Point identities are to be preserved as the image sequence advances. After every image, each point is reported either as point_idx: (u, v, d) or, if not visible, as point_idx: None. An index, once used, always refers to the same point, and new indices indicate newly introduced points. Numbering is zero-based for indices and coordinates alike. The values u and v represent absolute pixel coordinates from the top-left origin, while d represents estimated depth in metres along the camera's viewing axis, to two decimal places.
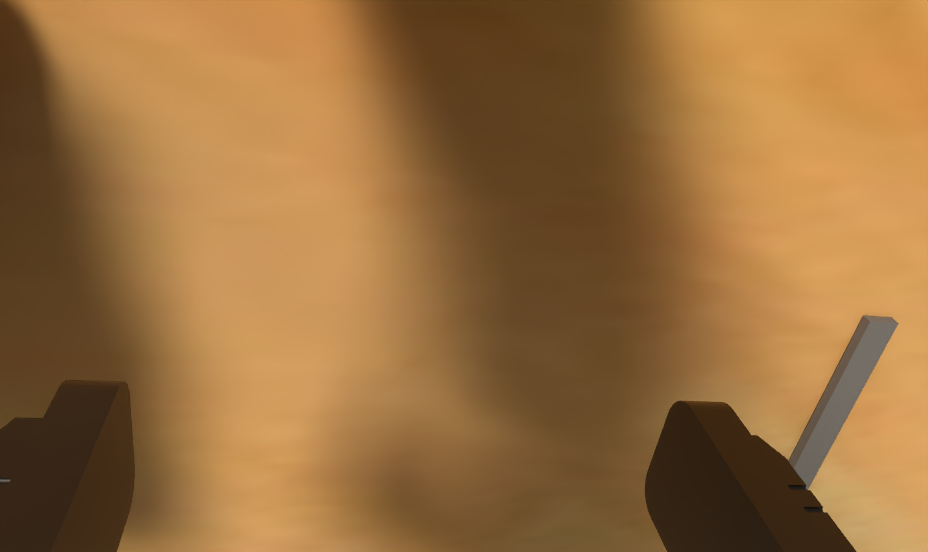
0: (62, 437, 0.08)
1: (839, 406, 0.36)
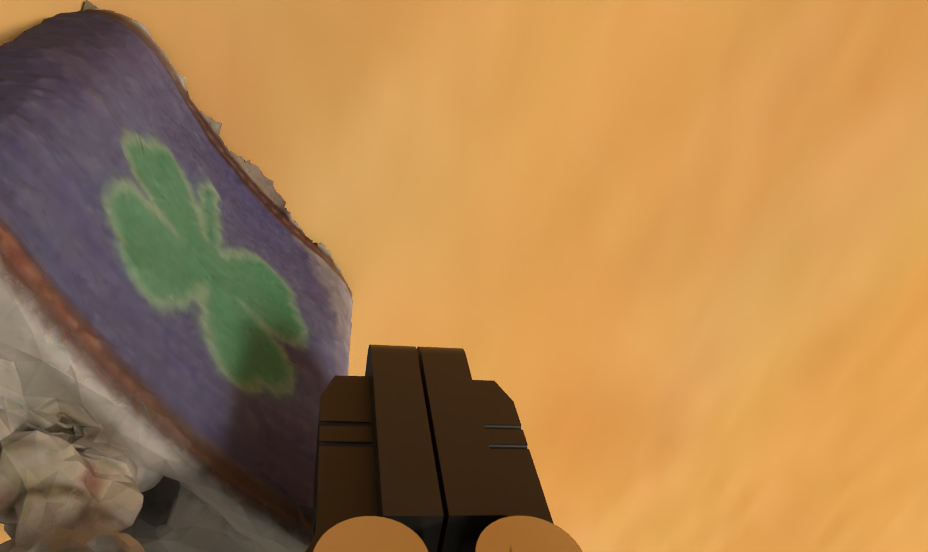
0: (396, 388, 0.10)
1: None
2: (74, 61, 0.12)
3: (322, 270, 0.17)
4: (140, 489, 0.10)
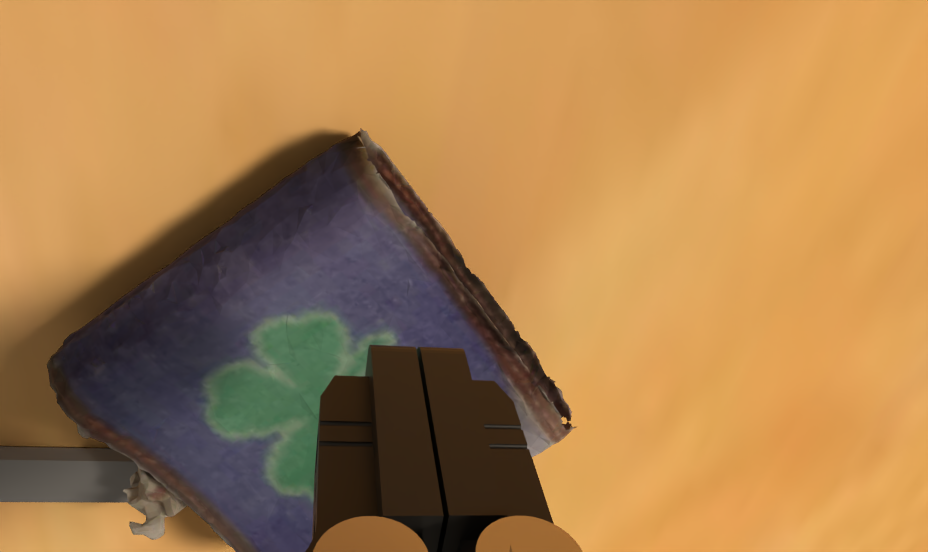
0: (396, 389, 0.10)
1: None
2: (239, 267, 0.16)
3: None
4: None
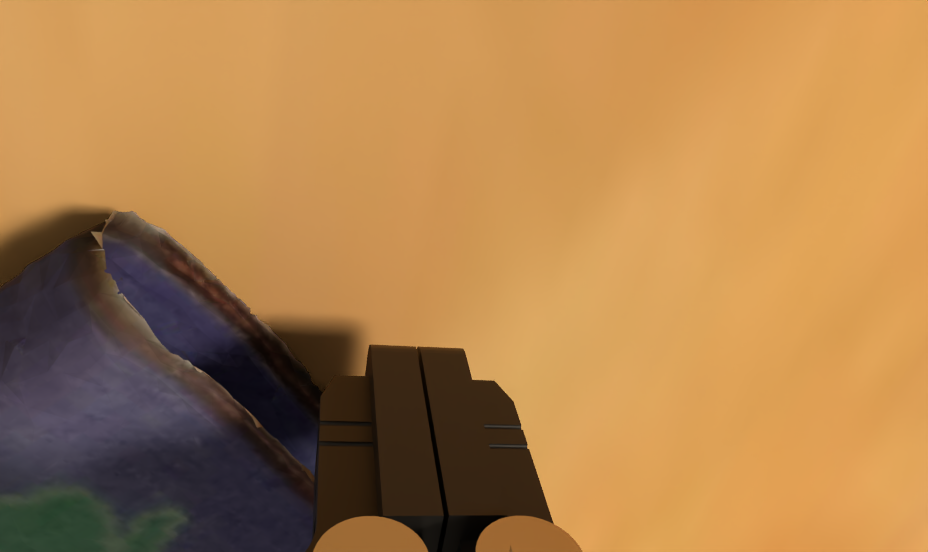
0: (396, 388, 0.10)
1: None
2: None
3: None
4: None
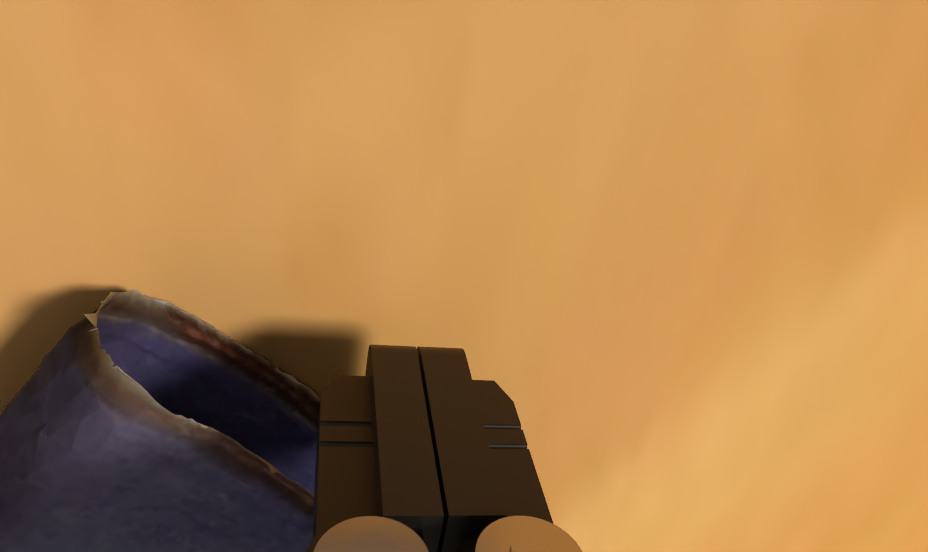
0: (396, 388, 0.10)
1: None
2: None
3: None
4: None
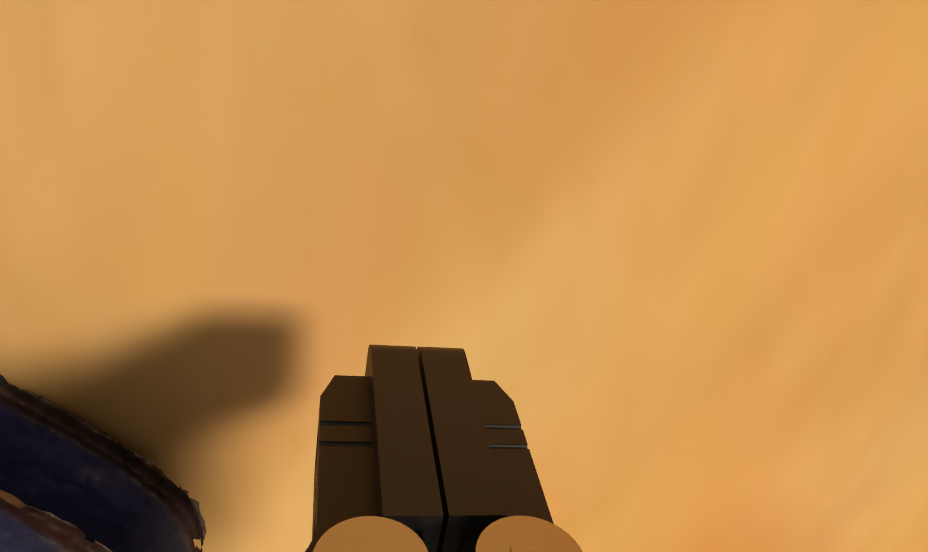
0: (396, 388, 0.10)
1: None
2: None
3: None
4: None
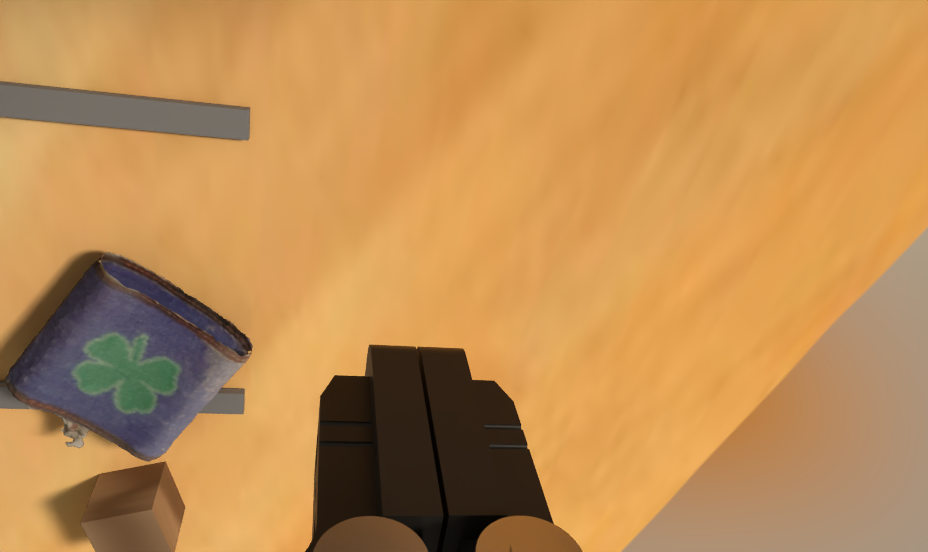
0: (396, 388, 0.10)
1: (138, 114, 0.35)
2: (67, 324, 0.37)
3: (212, 354, 0.39)
4: None
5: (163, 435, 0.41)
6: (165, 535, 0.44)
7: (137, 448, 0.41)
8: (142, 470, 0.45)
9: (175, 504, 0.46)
